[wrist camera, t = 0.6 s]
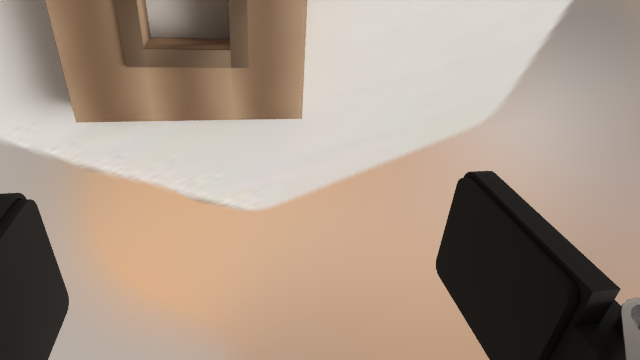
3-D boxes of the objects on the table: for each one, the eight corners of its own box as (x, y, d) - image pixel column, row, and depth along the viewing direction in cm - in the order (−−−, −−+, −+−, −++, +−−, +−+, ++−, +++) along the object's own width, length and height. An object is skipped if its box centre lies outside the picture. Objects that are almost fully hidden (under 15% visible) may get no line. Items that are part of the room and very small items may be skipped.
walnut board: (305, -133, 27) (314, -140, 24) (296, 104, 35) (302, 120, 32) (24, -163, 23) (-2, -175, 21) (88, 106, 32) (75, 123, 29)
